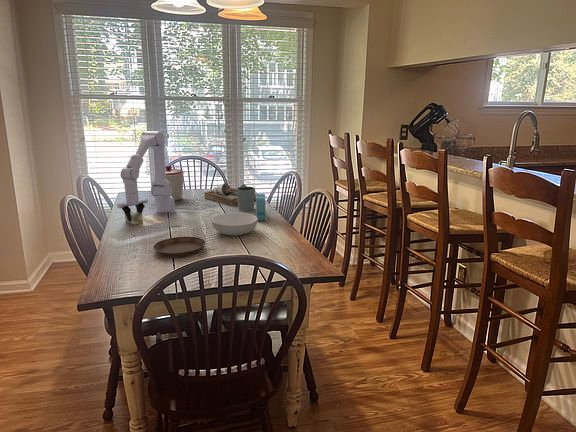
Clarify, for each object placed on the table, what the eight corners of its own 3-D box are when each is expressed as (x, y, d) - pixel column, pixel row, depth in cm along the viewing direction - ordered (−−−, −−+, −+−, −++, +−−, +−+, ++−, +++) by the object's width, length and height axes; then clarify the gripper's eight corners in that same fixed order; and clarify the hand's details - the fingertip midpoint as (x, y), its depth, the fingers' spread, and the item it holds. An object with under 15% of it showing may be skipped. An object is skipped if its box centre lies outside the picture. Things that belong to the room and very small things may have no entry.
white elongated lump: (211, 200, 263) (210, 184, 260) (217, 197, 272) (216, 181, 269) (251, 202, 257) (251, 186, 255) (256, 198, 267) (255, 182, 264)
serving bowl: (221, 242, 188) (220, 227, 186) (206, 229, 206) (205, 215, 204) (265, 235, 197) (264, 221, 195) (247, 224, 215) (247, 210, 213)
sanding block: (134, 220, 216) (133, 210, 215) (143, 223, 210) (142, 213, 209) (125, 222, 213) (124, 212, 212) (134, 225, 207) (133, 215, 206)
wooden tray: (228, 193, 280) (228, 187, 279) (256, 200, 262) (255, 193, 261) (204, 198, 267) (204, 192, 266) (231, 205, 249) (231, 199, 248)
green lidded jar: (234, 210, 239) (233, 189, 236) (242, 206, 248) (242, 185, 245) (250, 212, 236) (249, 190, 233) (258, 207, 245) (258, 187, 242)
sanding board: (153, 217, 227) (152, 214, 227) (170, 223, 215) (169, 220, 215) (125, 223, 217) (125, 220, 216) (141, 230, 205) (141, 227, 205)
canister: (173, 194, 277) (170, 161, 272) (192, 198, 267) (190, 164, 261) (149, 200, 263) (146, 165, 258) (168, 204, 253) (166, 168, 247)
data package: (265, 221, 218) (265, 198, 215) (256, 222, 218) (256, 198, 215) (265, 215, 230) (264, 193, 226) (256, 215, 229) (256, 193, 226)
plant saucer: (144, 251, 178) (143, 243, 177) (188, 239, 192) (187, 232, 191) (170, 264, 164) (170, 256, 163) (215, 251, 178) (215, 243, 177)
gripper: (141, 189, 215) (144, 215, 218) (113, 193, 205) (116, 221, 209) (148, 191, 210) (151, 218, 214) (119, 196, 200) (122, 224, 204)
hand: (134, 220), depth 211 cm, fingers closed on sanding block, 4 cm apart
